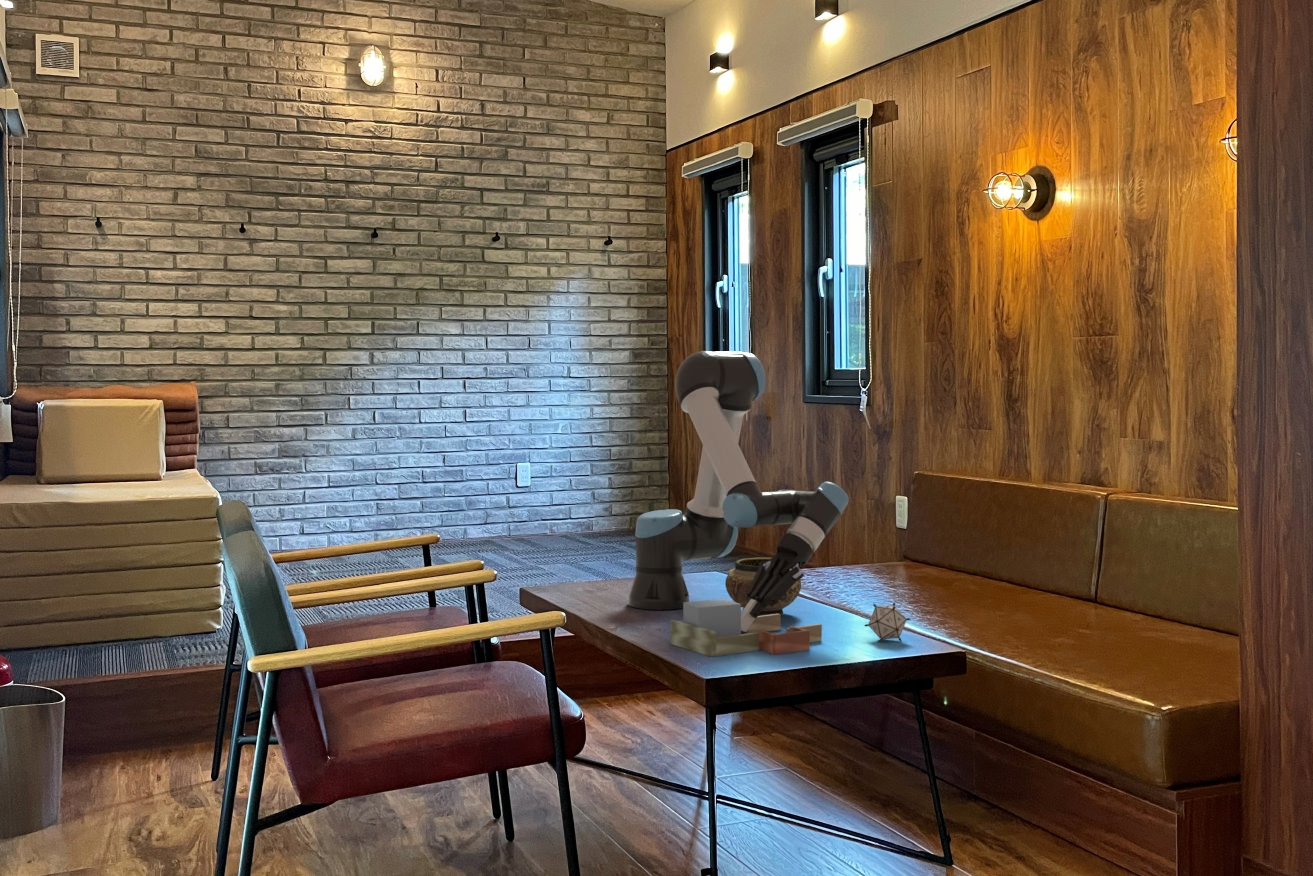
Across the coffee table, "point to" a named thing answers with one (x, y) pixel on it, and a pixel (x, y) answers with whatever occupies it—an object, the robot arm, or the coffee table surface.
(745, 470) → the robot arm
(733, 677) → the coffee table surface
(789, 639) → the low zigzag wall
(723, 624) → the slate block
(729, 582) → the ceramic bowl
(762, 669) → the coffee table surface
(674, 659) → the coffee table surface
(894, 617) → the game die
